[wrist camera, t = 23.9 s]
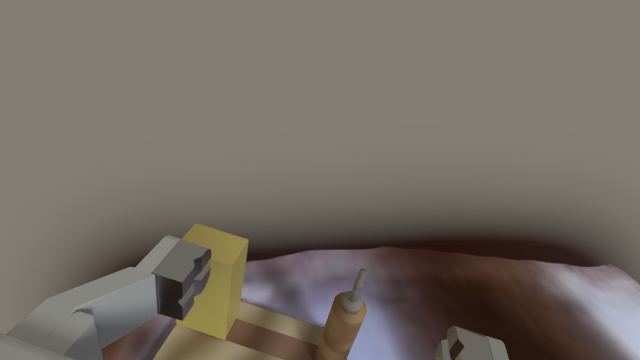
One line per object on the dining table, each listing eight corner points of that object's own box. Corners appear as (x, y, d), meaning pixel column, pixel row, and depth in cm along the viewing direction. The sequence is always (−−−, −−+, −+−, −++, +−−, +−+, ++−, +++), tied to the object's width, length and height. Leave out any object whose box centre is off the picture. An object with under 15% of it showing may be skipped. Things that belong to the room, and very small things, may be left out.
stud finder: (225, 340, 39) (232, 266, 33) (175, 323, 40) (174, 247, 33) (239, 310, 43) (249, 238, 36) (194, 295, 43) (196, 222, 37)
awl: (342, 348, 41) (378, 260, 34) (343, 377, 39) (384, 288, 31) (314, 345, 41) (344, 255, 33) (314, 374, 38) (347, 283, 30)
